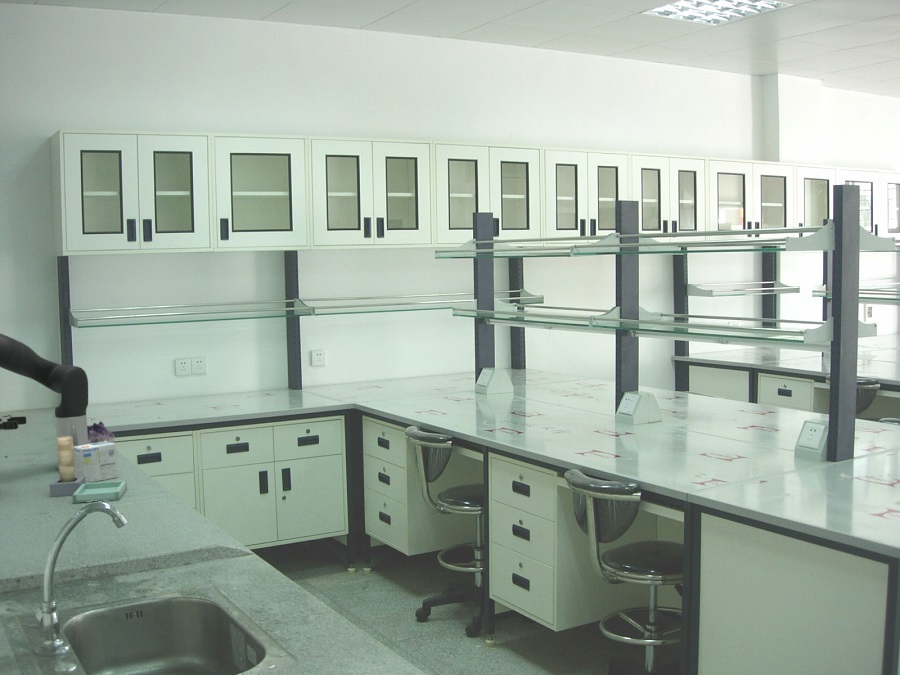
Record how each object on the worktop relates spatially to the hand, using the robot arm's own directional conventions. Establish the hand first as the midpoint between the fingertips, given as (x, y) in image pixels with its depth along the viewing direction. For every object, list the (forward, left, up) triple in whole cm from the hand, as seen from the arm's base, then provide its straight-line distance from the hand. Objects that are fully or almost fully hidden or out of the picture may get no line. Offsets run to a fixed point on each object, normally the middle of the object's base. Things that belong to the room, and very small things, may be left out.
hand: (22, 422), depth 255 cm
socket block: (0, +11, -21) cm, 24 cm away
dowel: (0, +11, -21) cm, 24 cm away
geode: (-65, +7, -21) cm, 69 cm away
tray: (+7, +21, -21) cm, 30 cm away
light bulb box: (-15, +16, -21) cm, 31 cm away
